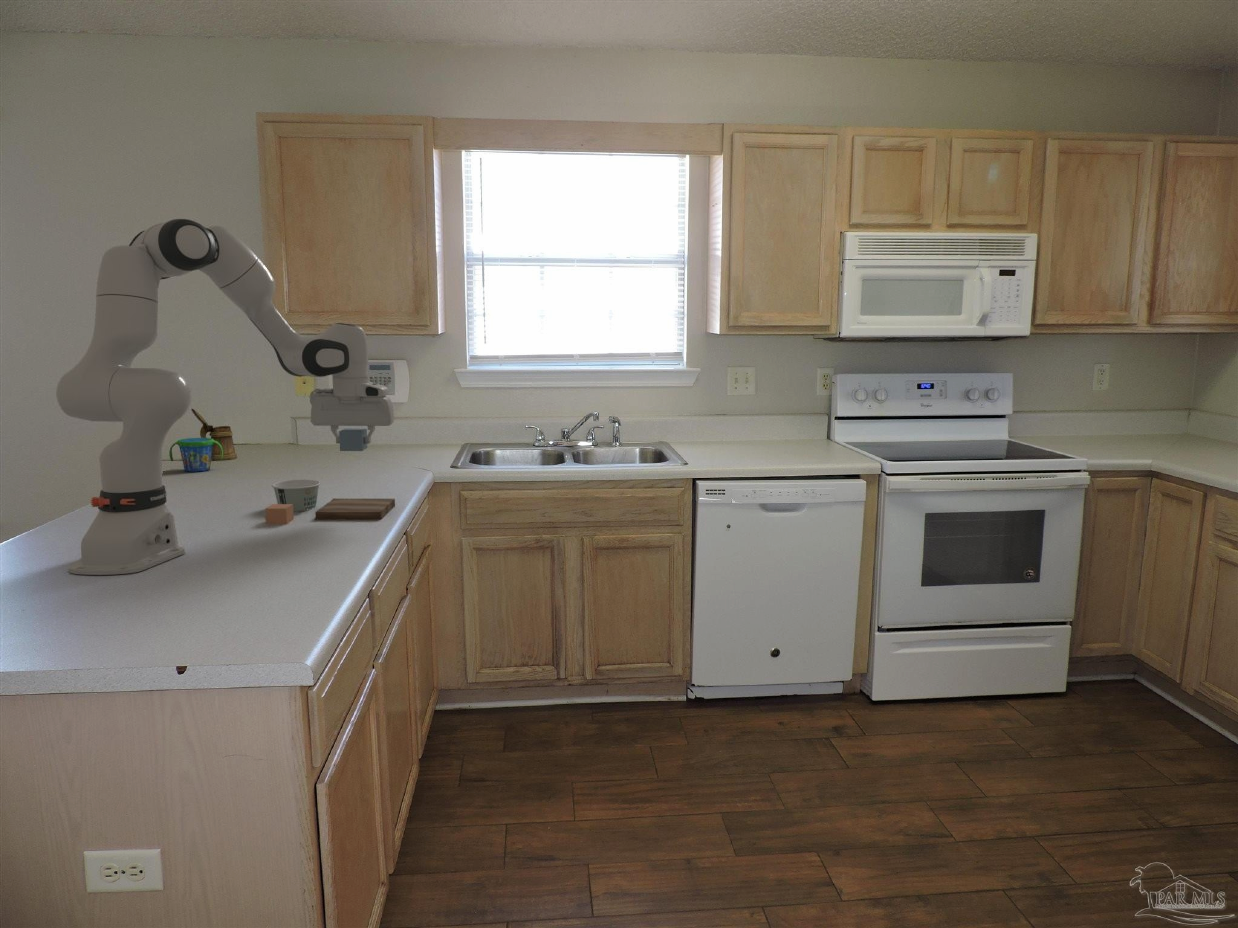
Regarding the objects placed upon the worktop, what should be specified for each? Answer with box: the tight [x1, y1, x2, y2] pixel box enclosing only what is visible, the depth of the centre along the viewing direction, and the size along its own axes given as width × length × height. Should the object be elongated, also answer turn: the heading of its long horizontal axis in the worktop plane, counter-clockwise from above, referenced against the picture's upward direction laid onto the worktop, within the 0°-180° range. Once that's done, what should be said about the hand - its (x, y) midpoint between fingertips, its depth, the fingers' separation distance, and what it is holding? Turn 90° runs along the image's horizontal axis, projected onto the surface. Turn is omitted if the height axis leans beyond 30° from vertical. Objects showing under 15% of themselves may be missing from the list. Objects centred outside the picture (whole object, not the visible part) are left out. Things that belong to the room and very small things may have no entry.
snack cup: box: [168, 437, 223, 473], centre depth 282 cm, size 16×10×10 cm
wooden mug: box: [191, 408, 238, 461], centre depth 304 cm, size 9×14×18 cm, turn 111°
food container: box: [271, 478, 321, 512], centre depth 229 cm, size 12×12×6 cm
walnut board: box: [314, 498, 396, 521], centre depth 224 cm, size 16×16×2 cm
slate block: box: [338, 428, 369, 452], centre depth 221 cm, size 6×6×5 cm
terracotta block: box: [264, 503, 295, 525], centre depth 213 cm, size 5×5×4 cm
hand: (353, 443), depth 221 cm, fingers closed on slate block, 5 cm apart
